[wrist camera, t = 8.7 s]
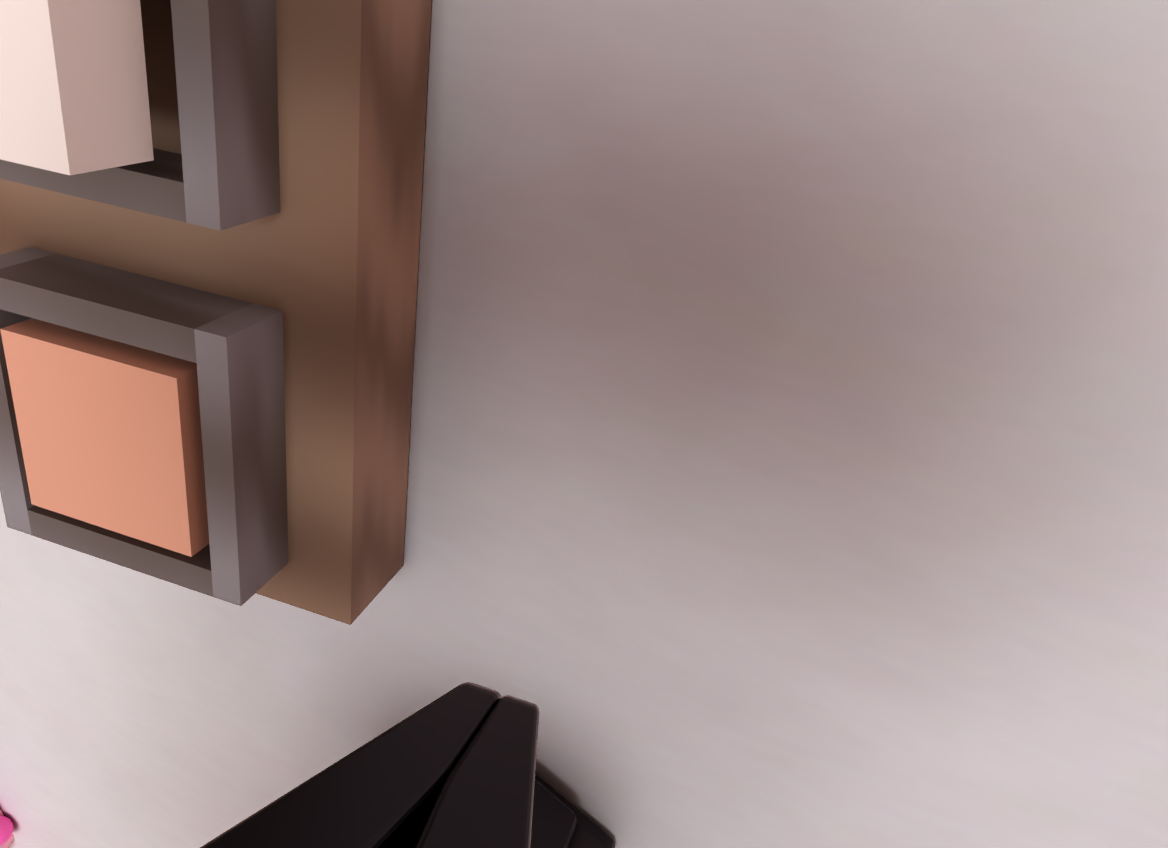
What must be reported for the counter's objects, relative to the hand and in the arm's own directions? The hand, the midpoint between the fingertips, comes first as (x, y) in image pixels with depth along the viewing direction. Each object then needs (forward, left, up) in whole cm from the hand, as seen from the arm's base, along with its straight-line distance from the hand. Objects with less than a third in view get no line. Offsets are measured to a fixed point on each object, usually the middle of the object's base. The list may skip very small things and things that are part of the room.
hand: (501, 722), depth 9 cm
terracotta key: (-10, +9, -10) cm, 17 cm away
